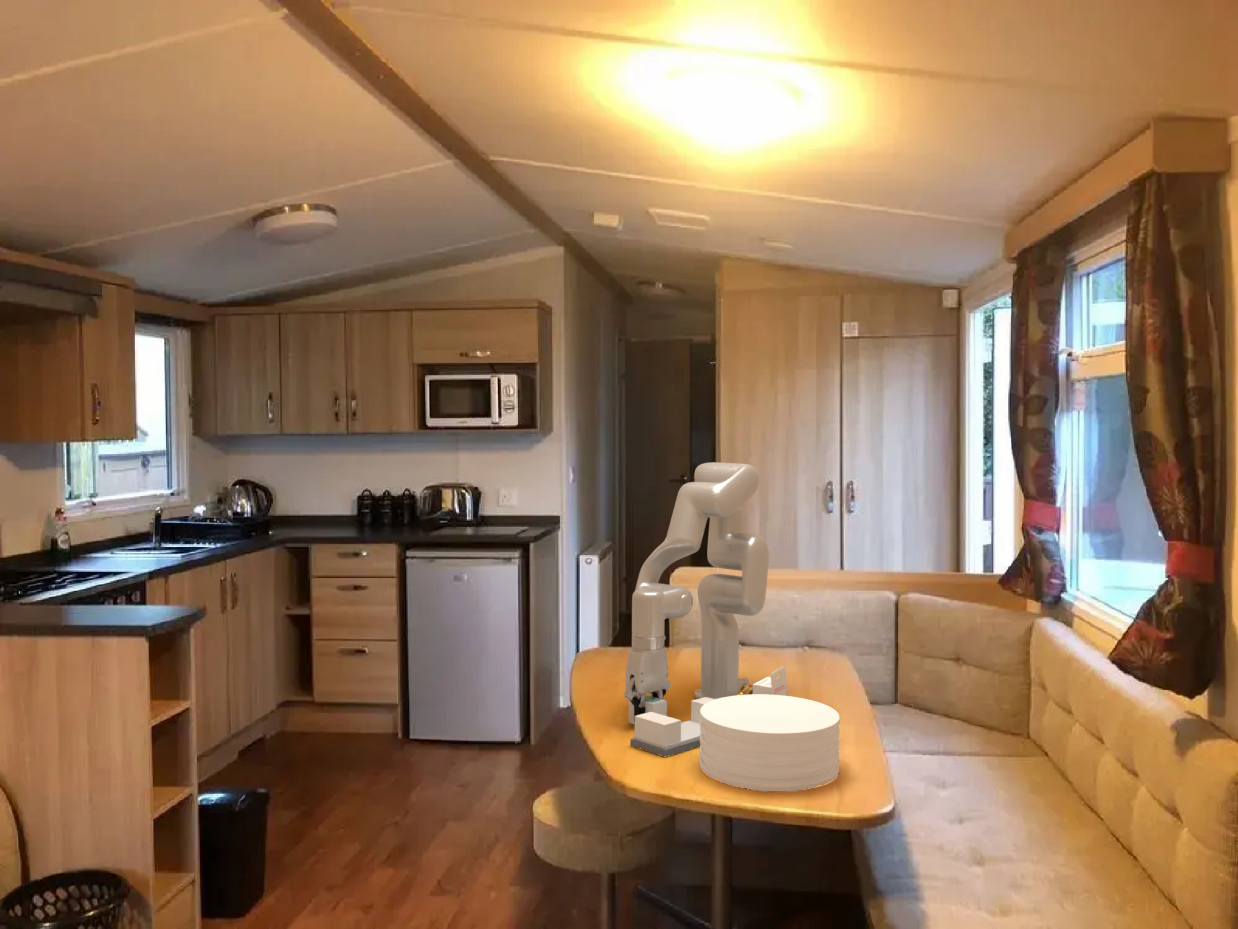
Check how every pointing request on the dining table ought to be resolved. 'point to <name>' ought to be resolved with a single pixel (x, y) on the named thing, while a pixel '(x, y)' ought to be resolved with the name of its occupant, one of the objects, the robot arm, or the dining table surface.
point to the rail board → (668, 731)
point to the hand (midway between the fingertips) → (647, 720)
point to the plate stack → (769, 742)
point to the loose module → (649, 707)
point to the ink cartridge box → (772, 684)
